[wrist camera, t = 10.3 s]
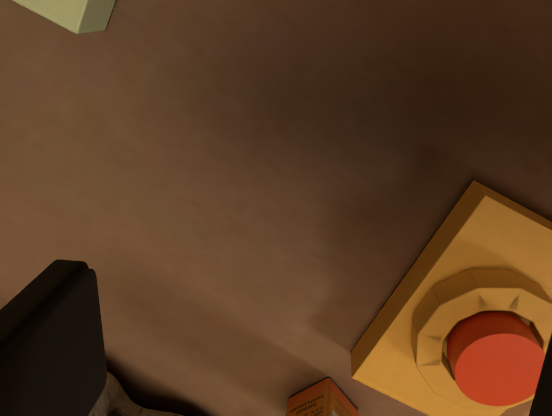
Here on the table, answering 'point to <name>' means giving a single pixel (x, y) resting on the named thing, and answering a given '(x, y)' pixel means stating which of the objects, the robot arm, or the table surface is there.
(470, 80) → the table surface
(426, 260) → the button block
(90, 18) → the dial panel
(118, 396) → the stone
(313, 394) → the supplement box
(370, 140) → the table surface
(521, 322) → the red push button
